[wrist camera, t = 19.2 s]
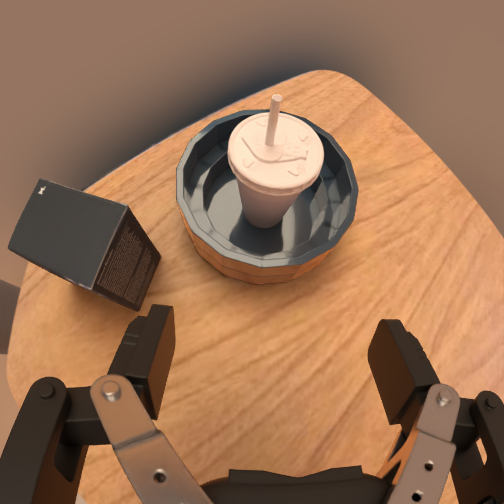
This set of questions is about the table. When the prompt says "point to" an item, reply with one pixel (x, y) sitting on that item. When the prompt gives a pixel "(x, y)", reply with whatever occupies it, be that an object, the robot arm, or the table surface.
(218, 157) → the bowl
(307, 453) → the table surface
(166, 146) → the table surface
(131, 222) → the box
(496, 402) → the robot arm
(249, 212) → the smoothie
